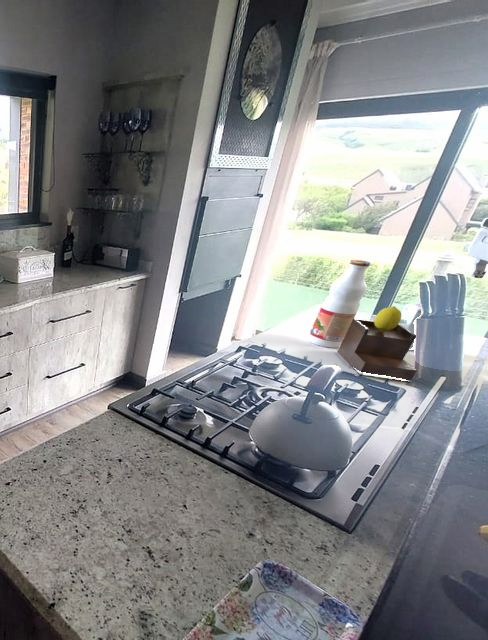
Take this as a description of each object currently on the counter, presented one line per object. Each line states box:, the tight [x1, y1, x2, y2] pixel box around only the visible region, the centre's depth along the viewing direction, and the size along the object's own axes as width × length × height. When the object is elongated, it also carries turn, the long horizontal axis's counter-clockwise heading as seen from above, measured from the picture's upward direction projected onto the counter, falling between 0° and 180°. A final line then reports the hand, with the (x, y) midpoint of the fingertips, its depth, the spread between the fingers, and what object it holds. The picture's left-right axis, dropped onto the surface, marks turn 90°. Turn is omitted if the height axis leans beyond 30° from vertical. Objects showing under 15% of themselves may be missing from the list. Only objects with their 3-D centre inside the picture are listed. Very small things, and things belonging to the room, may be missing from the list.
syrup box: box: [399, 303, 421, 352], centre depth 135 cm, size 6×6×14 cm
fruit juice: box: [307, 259, 371, 349], centre depth 133 cm, size 9×9×28 cm
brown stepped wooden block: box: [337, 318, 418, 384], centre depth 122 cm, size 12×18×12 cm, turn 159°
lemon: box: [373, 305, 402, 332], centre depth 121 cm, size 6×6×8 cm
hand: (487, 281), depth 102 cm, fingers open, 8 cm apart
